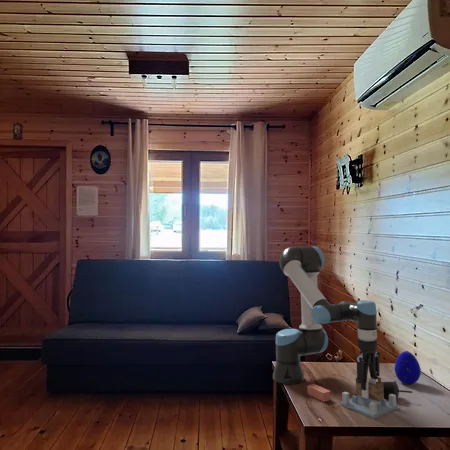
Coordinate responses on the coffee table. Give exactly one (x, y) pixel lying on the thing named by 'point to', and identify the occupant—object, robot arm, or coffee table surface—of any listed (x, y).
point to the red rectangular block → (318, 392)
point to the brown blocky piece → (372, 390)
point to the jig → (369, 405)
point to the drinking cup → (392, 389)
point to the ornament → (407, 368)
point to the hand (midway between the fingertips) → (369, 395)
